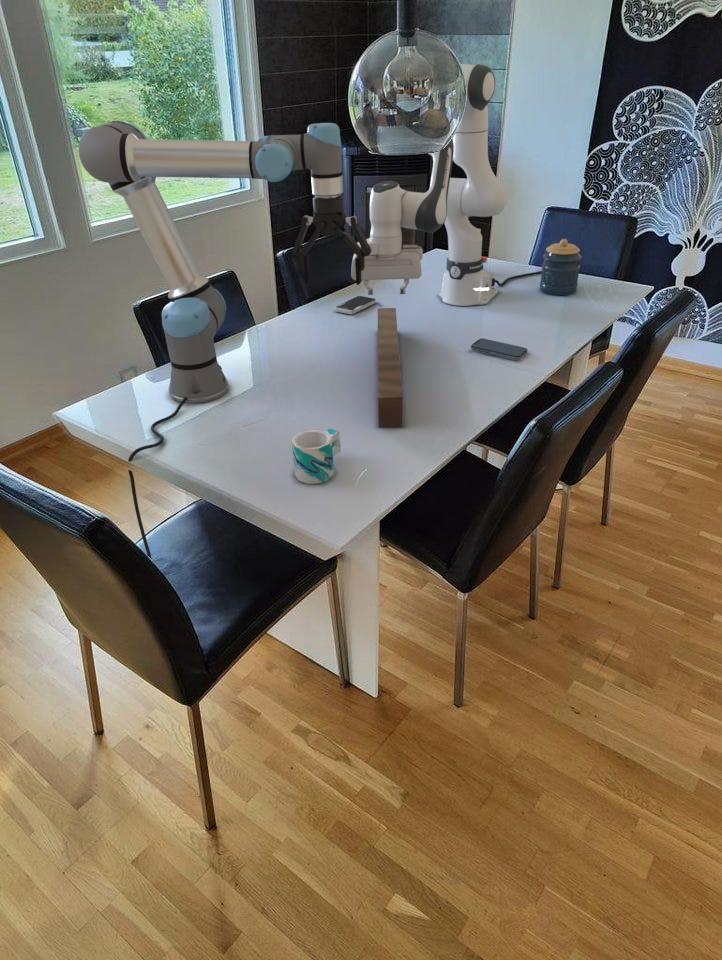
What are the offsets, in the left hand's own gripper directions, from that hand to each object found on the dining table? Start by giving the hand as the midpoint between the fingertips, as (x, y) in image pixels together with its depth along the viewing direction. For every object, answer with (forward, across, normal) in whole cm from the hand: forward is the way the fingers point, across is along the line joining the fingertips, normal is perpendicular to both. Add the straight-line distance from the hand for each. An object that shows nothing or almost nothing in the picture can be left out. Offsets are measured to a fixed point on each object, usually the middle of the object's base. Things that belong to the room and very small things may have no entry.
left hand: (333, 282), depth 174 cm
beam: (+24, -14, +1) cm, 28 cm away
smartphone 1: (+24, +7, -52) cm, 58 cm away
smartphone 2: (+24, -43, -18) cm, 53 cm away
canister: (+24, -60, -78) cm, 102 cm away
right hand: (+10, -9, -22) cm, 26 cm away
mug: (+24, -10, +52) cm, 58 cm away
